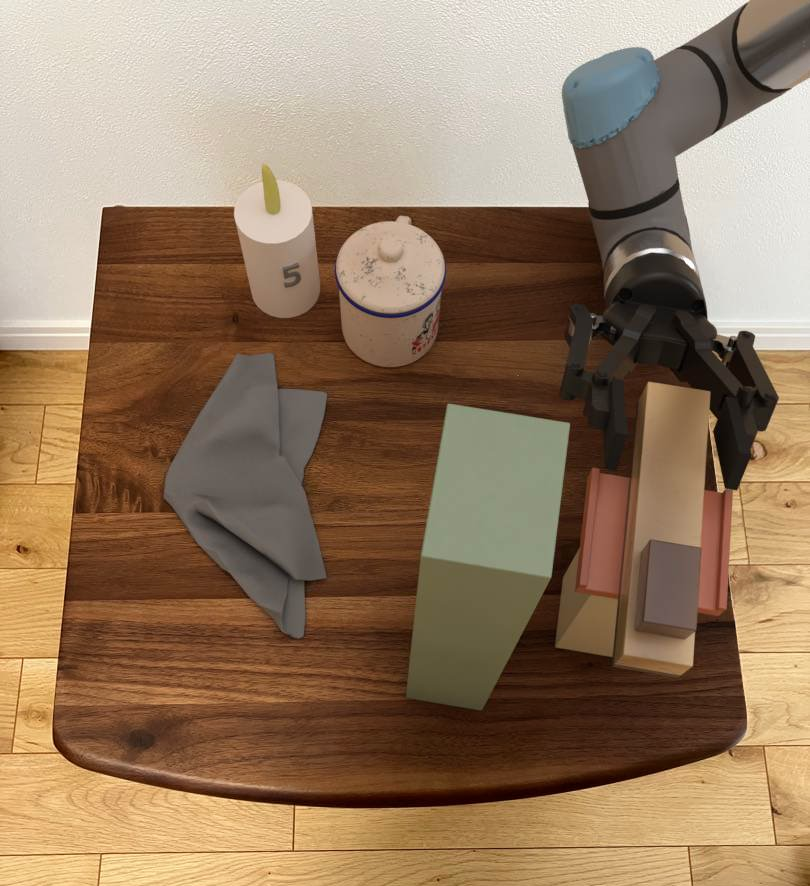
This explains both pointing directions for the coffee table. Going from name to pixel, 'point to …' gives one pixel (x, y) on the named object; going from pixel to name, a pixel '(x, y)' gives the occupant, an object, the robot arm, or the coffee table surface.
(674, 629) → the tan wooden block
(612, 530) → the red-capped tan pillar
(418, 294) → the teacup with lid
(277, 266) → the candle
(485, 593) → the mint green pillar
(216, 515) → the cloth
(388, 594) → the coffee table surface
